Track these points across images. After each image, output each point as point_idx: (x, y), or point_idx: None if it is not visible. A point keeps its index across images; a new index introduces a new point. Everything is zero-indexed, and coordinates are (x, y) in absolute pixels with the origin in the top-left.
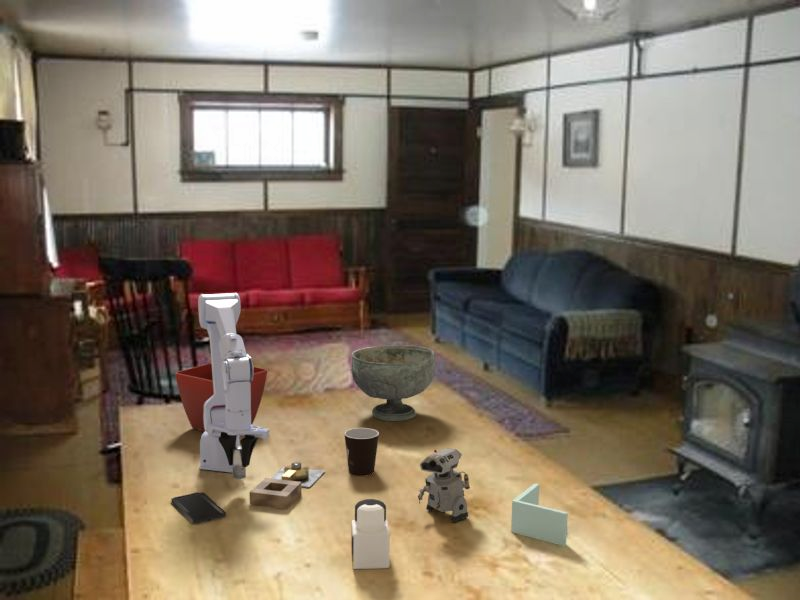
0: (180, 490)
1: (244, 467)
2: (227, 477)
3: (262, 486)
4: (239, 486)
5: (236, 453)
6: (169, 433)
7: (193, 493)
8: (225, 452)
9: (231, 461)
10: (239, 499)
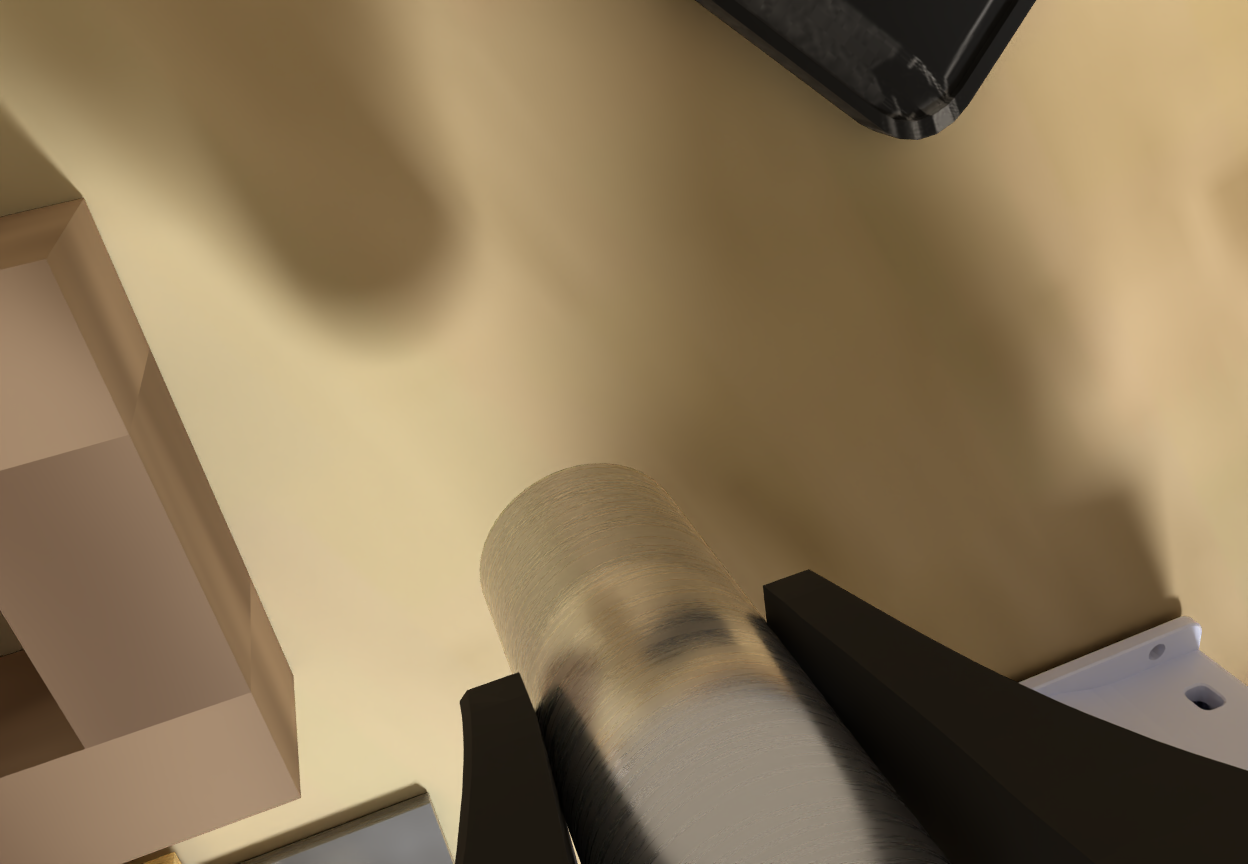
0: (1176, 120)
1: None
2: None
3: (61, 573)
4: None
5: (762, 824)
6: None
7: (1003, 44)
8: (1046, 698)
9: (804, 638)
10: (378, 276)
